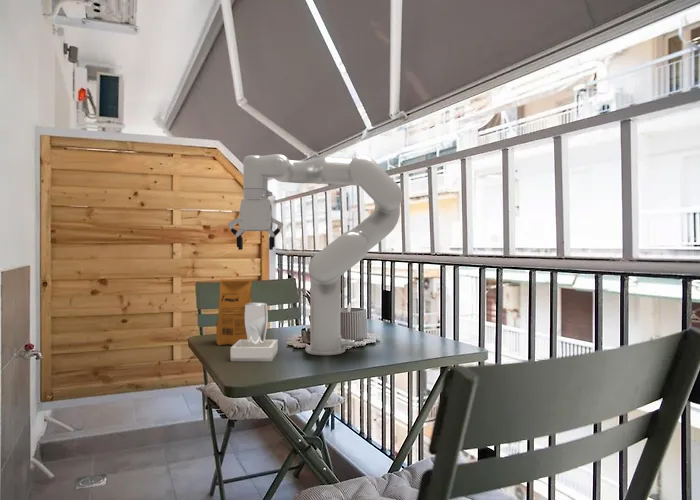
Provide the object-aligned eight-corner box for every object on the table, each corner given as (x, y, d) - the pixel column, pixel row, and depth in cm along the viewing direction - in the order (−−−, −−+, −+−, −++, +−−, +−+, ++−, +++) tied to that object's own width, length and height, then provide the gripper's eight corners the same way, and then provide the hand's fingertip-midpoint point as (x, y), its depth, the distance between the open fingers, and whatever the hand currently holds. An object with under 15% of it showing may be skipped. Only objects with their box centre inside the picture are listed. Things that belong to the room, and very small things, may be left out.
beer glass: (239, 354, 147) (239, 304, 147) (252, 350, 153) (252, 302, 153) (259, 356, 144) (259, 305, 144) (272, 352, 151) (272, 303, 151)
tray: (277, 352, 155) (277, 339, 155) (271, 361, 143) (271, 347, 143) (239, 352, 155) (239, 339, 155) (230, 361, 143) (230, 347, 143)
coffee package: (219, 340, 174) (218, 278, 174) (254, 339, 175) (254, 278, 175) (213, 346, 165) (212, 280, 164) (250, 345, 165) (250, 280, 165)
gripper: (284, 196, 159) (284, 249, 159) (231, 196, 159) (231, 249, 159) (281, 194, 152) (281, 249, 152) (225, 194, 151) (225, 249, 152)
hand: (255, 249), depth 155 cm, fingers open, 9 cm apart
